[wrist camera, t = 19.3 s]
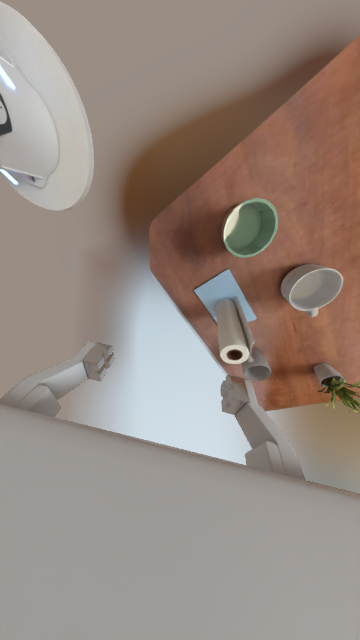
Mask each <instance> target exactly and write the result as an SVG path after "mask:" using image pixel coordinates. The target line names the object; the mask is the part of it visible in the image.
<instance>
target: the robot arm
mask: <svg viewBox="0 0 360 640" xmlns="http://www.w3.org/2000/svg"><path fill="white" fill-rule="evenodd" d="M58 161H59V140H58V135H57V131H56V128H55V125H54V122H53V119H52V117H51V114H50V112H49V110H48V108H47V106H46V104H45V103H44V101H43V99H42V98H41V96H40V95H39V93H38V92H37V91H36V89H35V88H34V87H33V86H32V85H31V84H30V83H29V81H28V80H27V79H26V78H25V77H24V75H23V74H22V72H21V71H20V69H19V67H18V65H17V63H16V62H15V60H14V58H13V57H12V55H11V54H10V52H9V51H8V50H7V49H5V48H4V47H2V46H1V45H0V171H1V172H2V173H4V174H5V175H6V176H7V177H8V178H9V179H10V180H11V181H12V182H13V183H14V184H18V183H17V182H16V181H15V180H14V179H13V178H12V177H11V176H10V175H9V174H8V173H10V174H12V175H14V176H16V177H18V178H21V179H23V180H25V181H27V182H29V183H31V184H33V185H35V186H37V187H40V188H45V187H46V184H47V180H48V177H49V176H50V175H51V174H52V173H53V172H54V171H55V169H56V167H57V165H58ZM7 172H8V173H7ZM34 179H35V180H34ZM112 351H113V346H109V345H105V344H101V343H98V342H94V341H90V342H88V343H87V344H86V345H85V346H84V347H83V348H82V349H81V350H80V351H79V352H78V353H77V354H76V355H75V356H74V358H73V359H68V360H65V361H63V362H61V363H58V364H56V365H54V366H52V367H49V368H47V369H45V370H43V371H40V372H38V373H36V374H33V375H31V376H29V377H27V378H24V379H23V380H22V381H20V382H19V383H18V384H17V385H16V386H15V387H14V388H12V389H11V390H10V391H9V392H8V393H7V394H6V395H4V396H3V397H2V398H1V399H0V640H360V494H358V493H354V492H350V491H346V490H342V489H338V488H334V487H330V486H326V485H322V484H318V483H314V482H310V481H306V480H305V477H304V475H303V472H302V469H301V466H300V464H299V461H298V459H297V456H296V453H295V451H294V448H293V446H292V445H291V444H290V442H289V441H288V440H287V439H286V437H285V436H284V435H283V434H282V432H281V431H280V430H279V429H278V427H277V426H276V425H275V423H274V422H273V421H272V420H271V418H270V417H269V416H268V415H267V413H266V412H265V411H264V409H263V408H262V407H261V406H260V405H258V402H257V399H256V395H255V392H254V388H253V385H252V382H251V380H248V379H244V378H240V377H236V376H232V375H227V376H226V380H225V381H223V383H222V385H221V396H222V397H223V400H222V411H223V412H226V413H229V414H233V415H235V417H236V419H237V421H238V423H239V425H240V426H241V428H242V430H243V432H244V434H245V436H246V437H247V440H248V441H249V443H250V445H251V447H252V450H250V451H248V452H247V453H246V454H245V457H246V464H247V465H243V464H238V463H234V462H230V461H227V460H223V459H219V458H214V457H211V456H207V455H203V454H198V453H195V452H191V451H187V450H183V449H179V448H175V447H171V446H167V445H163V444H159V443H155V442H151V441H147V440H143V439H139V438H135V437H131V436H127V435H123V434H119V433H115V432H111V431H107V430H103V429H99V428H95V427H91V426H87V425H83V424H79V423H75V422H71V421H67V420H63V419H59V418H55V416H56V414H57V413H58V412H59V410H60V409H61V406H60V404H59V403H58V401H57V400H58V399H60V398H61V397H63V396H64V395H66V394H67V393H68V392H70V391H71V390H73V389H74V388H76V387H77V386H79V385H80V384H82V383H83V382H85V381H86V380H88V379H93V380H97V381H101V380H102V378H103V377H104V376H105V374H106V369H107V368H109V367H110V366H111V364H112V362H113V359H114V354H113V352H112Z"/></svg>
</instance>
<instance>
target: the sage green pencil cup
mask: <svg viewBox="0 0 360 640" xmlns="http://www.w3.org/2000/svg"><path fill="white" fill-rule="evenodd" d="M277 226H278V215H277V212H276V208H275V207H274V206H273V205H272V204H271V203H270V202H269V201H268V200H264V199H260V198H254V199H250V200H246V201H244V202H242V203H239V204H237V205H236V206H234V207H233V208H232V209H230V210H229V211H228V213H227V214H226V216H225V217H224V219H223V221H222V225H221V228H220V230H221V239H222V241H223V243H224V245H225V246H226V248H227V250H228V251H229V252H231V253H232V254H233V255H234V256H237V257H242V258H246V257H252V256H255V255H257V254H258V253H260V252H262V251H263V250H264V249H265V248H266V247H267V246H268V245H269V244H270V243H271V242H272V240H273V238H274V236H275V234H276V232H277Z"/></svg>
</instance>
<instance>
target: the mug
mask: <svg viewBox="0 0 360 640" xmlns="http://www.w3.org/2000/svg"><path fill="white" fill-rule="evenodd" d="M242 367H243V373H244V375H245V377H246V378H248V379H250V380H254V381H260V380H264V379H267V378H268V377H269V376H270V375H271V369H270V367H269V364H268V362H267V361H266V359H265V358H264V356H263V355H262V354H261V353H260V352H258V350H256V349H254V348H252V352H251V354H250V356H249V358H248V359H247V360H246V361H244V362H243V363H242Z"/></svg>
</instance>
